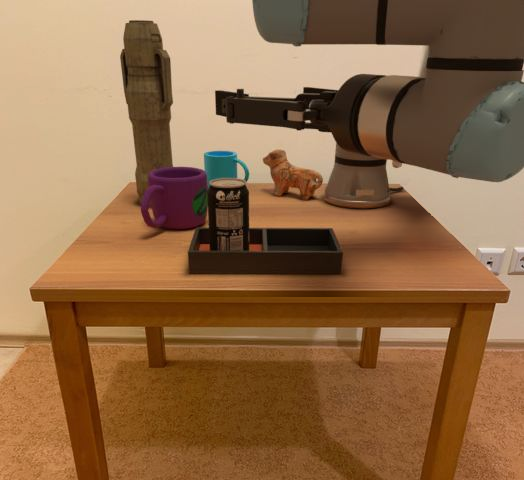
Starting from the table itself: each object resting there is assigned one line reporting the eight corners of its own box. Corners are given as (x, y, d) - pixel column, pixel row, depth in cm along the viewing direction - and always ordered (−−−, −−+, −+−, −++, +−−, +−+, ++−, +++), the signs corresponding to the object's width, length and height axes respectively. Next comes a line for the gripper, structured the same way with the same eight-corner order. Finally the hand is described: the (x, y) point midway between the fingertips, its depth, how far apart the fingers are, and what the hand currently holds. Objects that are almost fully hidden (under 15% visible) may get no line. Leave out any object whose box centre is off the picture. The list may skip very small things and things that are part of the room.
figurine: (270, 187, 130) (271, 146, 125) (328, 196, 123) (331, 152, 118) (256, 193, 125) (256, 150, 120) (315, 203, 118) (318, 157, 113)
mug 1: (173, 212, 110) (169, 164, 105) (219, 219, 106) (217, 169, 101) (121, 235, 97) (113, 181, 91) (171, 244, 92) (166, 188, 87)
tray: (196, 247, 91) (195, 227, 90) (330, 247, 92) (332, 228, 90) (189, 273, 81) (187, 251, 79) (341, 274, 81) (343, 252, 79)
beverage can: (228, 245, 90) (226, 175, 83) (257, 254, 86) (257, 181, 80) (201, 255, 85) (197, 182, 79) (231, 265, 82) (229, 189, 76)
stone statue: (169, 210, 111) (154, 19, 94) (125, 203, 115) (102, 20, 98) (190, 200, 118) (179, 21, 101) (148, 195, 122) (130, 22, 105)
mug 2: (199, 189, 128) (197, 154, 124) (216, 182, 134) (215, 149, 130) (241, 194, 124) (240, 159, 119) (256, 187, 130) (256, 153, 126)
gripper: (279, 169, 47) (178, 138, 62) (454, 146, 59) (334, 125, 74) (281, 78, 43) (173, 68, 58) (468, 73, 55) (338, 66, 70)
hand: (263, 100), depth 66 cm, fingers open, 13 cm apart
